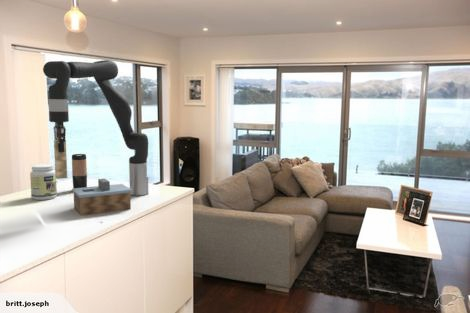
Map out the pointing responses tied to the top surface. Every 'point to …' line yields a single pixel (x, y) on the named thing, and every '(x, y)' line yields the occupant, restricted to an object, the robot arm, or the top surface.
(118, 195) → the wooden box
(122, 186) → the lid
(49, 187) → the supplement tub
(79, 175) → the travel mug
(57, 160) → the beech key
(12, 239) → the top surface
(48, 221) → the top surface
